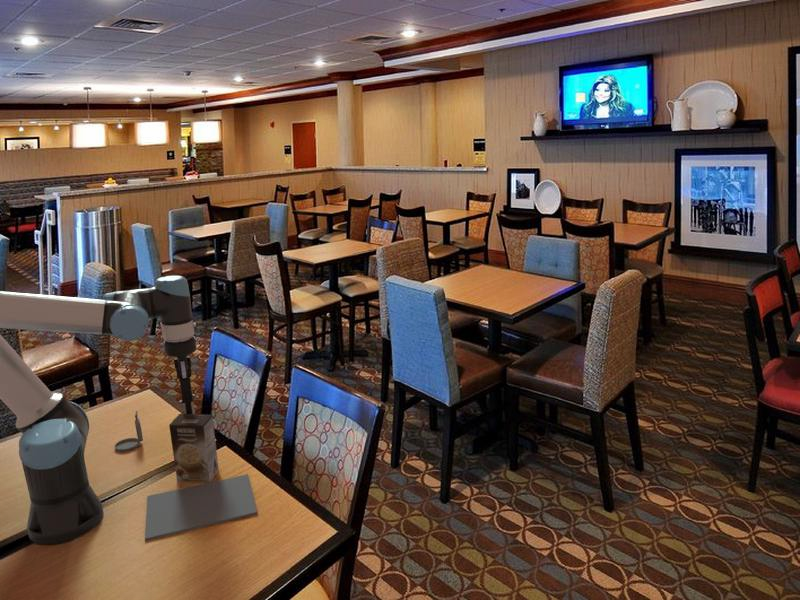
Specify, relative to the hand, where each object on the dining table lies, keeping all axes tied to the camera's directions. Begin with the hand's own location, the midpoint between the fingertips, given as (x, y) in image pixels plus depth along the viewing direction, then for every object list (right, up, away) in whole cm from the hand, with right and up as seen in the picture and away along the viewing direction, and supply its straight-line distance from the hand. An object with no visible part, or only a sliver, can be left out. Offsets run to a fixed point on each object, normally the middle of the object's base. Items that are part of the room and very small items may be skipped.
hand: (190, 423), depth 157 cm
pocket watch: (-22, -10, +15) cm, 28 cm away
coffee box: (+3, -13, -2) cm, 14 cm away
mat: (+8, -16, -15) cm, 23 cm away
